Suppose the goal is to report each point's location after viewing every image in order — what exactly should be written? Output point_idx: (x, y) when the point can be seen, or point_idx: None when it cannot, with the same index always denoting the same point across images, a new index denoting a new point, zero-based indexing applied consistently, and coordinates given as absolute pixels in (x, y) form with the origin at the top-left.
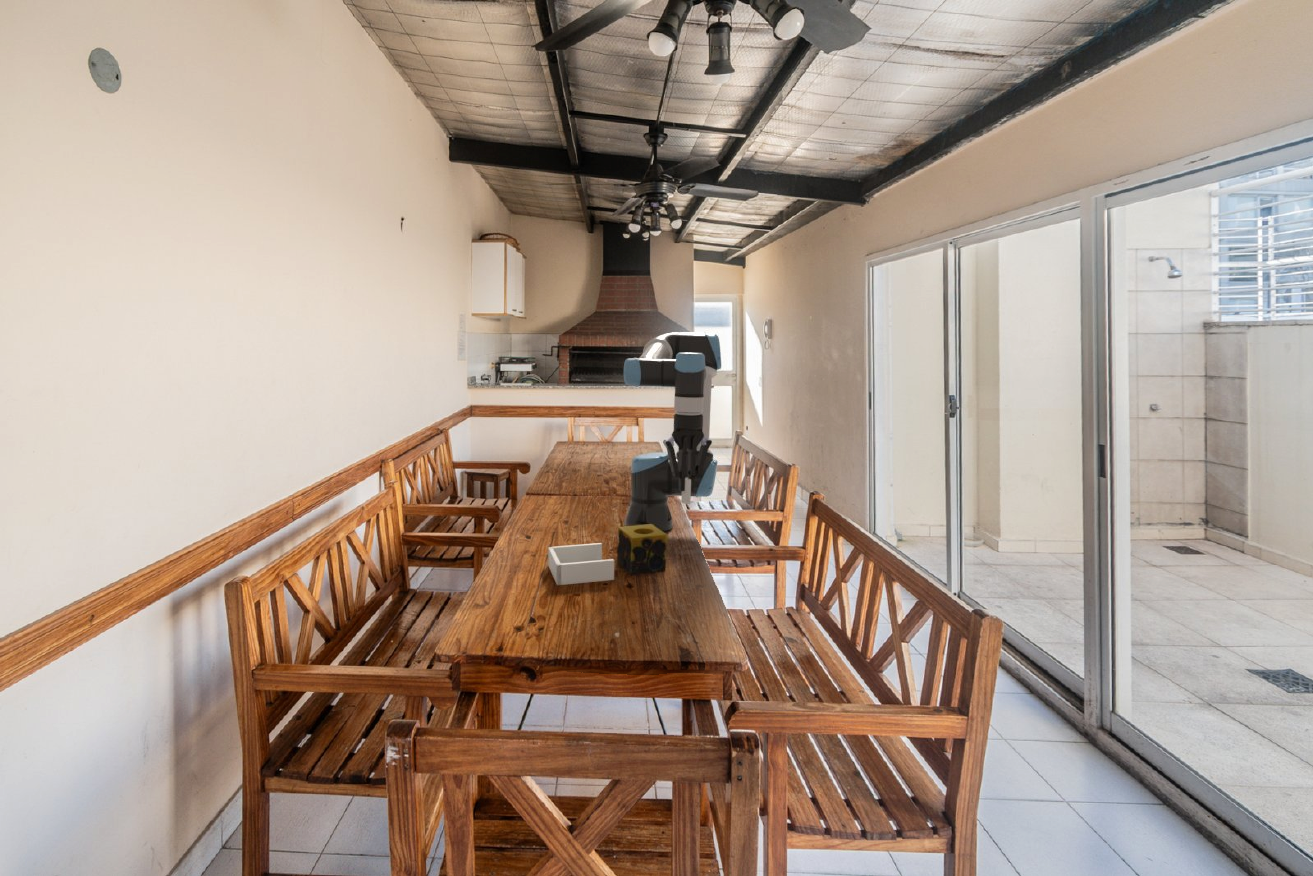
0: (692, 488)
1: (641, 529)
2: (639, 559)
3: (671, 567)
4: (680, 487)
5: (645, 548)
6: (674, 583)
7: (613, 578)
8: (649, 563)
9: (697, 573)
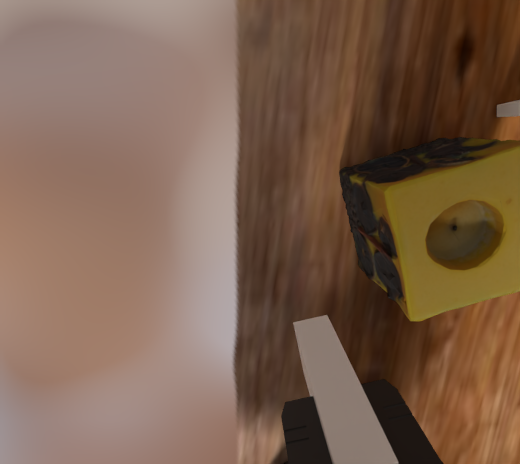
0: (294, 413)
1: (462, 268)
2: (444, 150)
3: (315, 200)
4: (403, 400)
5: (446, 158)
6: (330, 64)
7: (501, 104)
8: (401, 159)
9: (247, 147)
